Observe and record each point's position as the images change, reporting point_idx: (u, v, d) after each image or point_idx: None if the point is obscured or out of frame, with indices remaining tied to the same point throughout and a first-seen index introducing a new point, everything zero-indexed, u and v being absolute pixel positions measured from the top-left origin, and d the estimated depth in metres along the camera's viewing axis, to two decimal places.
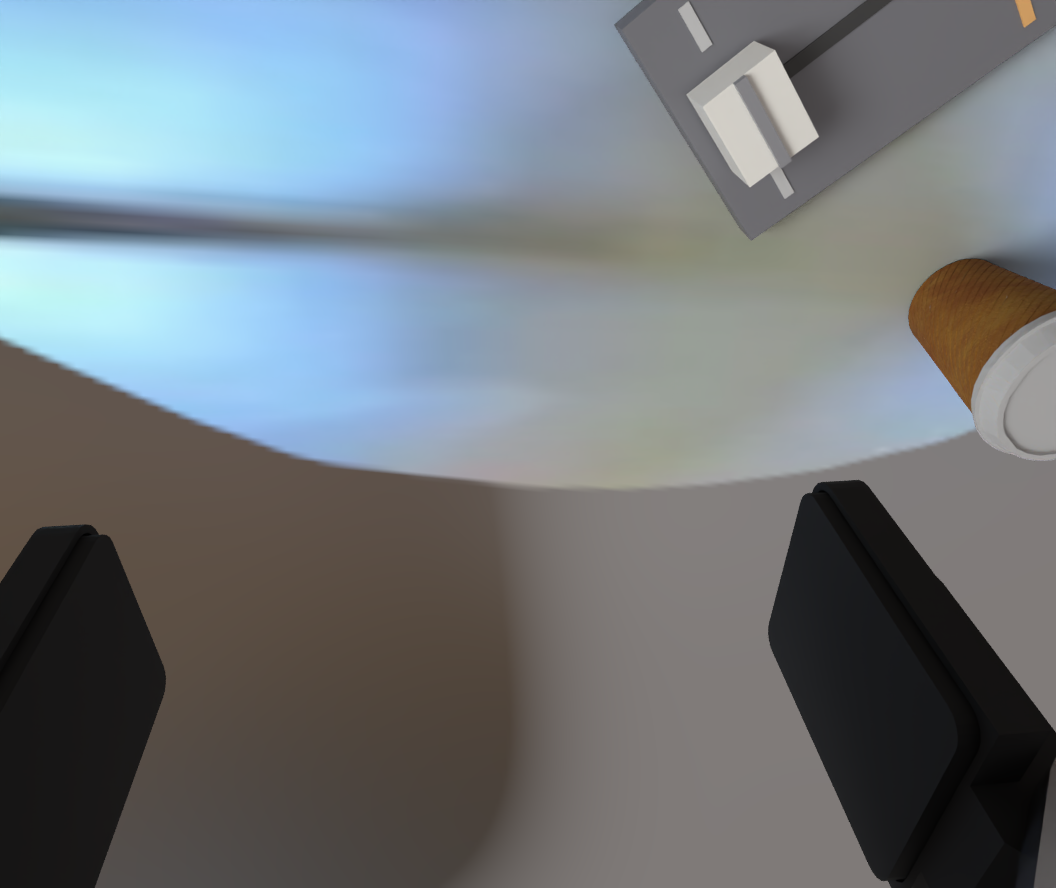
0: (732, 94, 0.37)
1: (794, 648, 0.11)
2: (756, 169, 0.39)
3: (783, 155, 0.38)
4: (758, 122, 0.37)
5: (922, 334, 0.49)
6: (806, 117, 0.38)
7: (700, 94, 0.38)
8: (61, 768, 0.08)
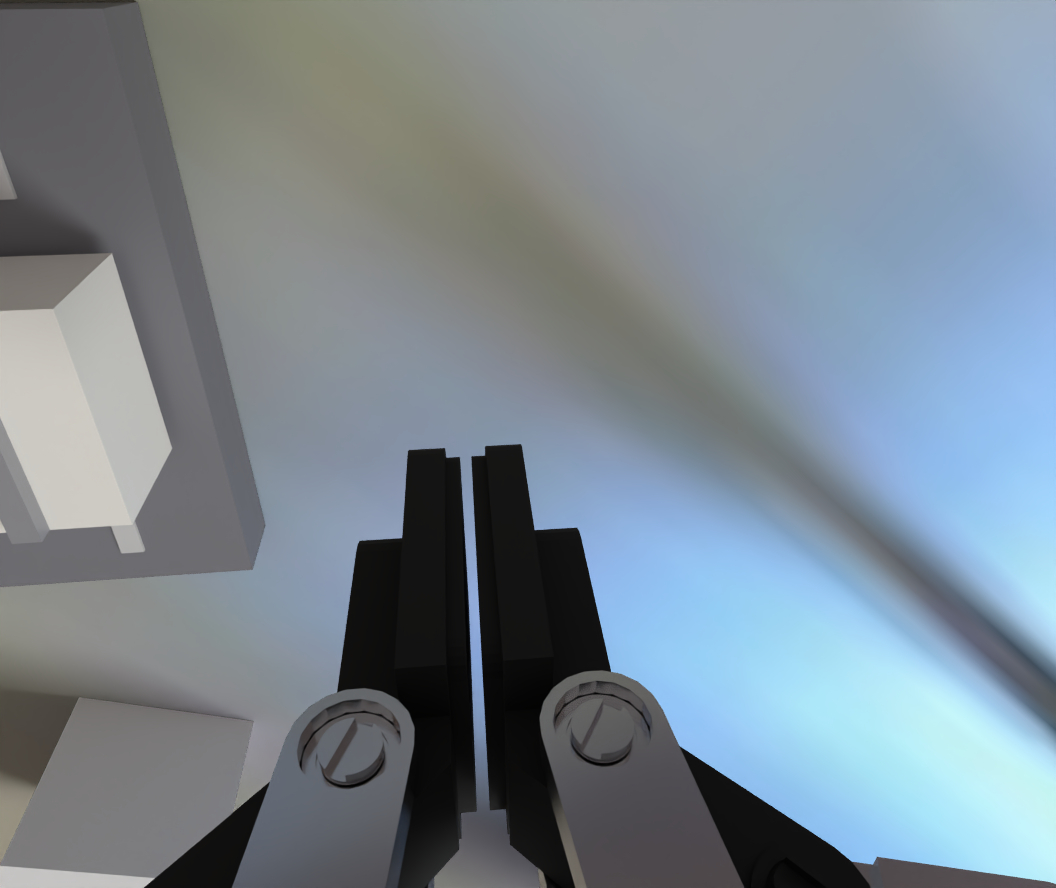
0: (55, 512, 0.16)
1: None
2: (24, 340, 0.14)
3: None
4: None
5: None
6: None
7: None
8: (468, 648, 0.09)
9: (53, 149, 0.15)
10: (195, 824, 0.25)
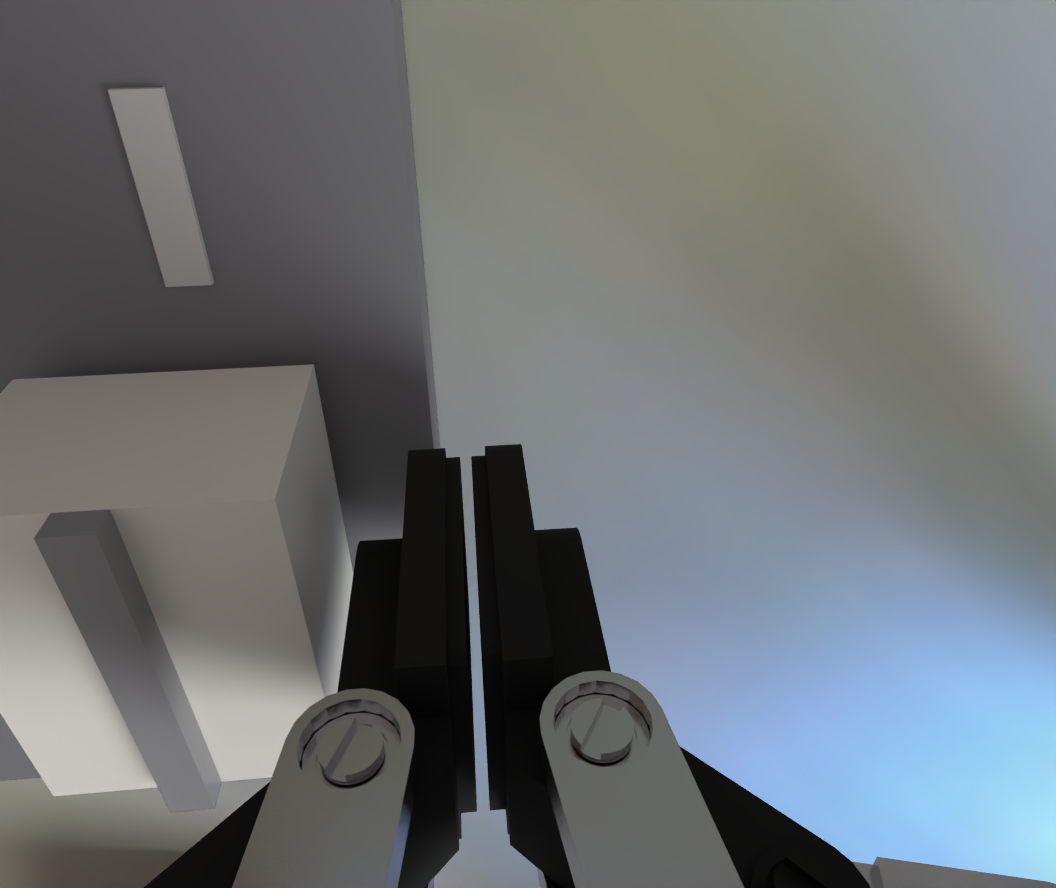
0: (232, 761, 0.11)
1: None
2: (220, 545, 0.08)
3: (77, 573, 0.08)
4: (162, 706, 0.09)
5: None
6: None
7: None
8: (468, 648, 0.09)
9: (278, 209, 0.10)
10: None
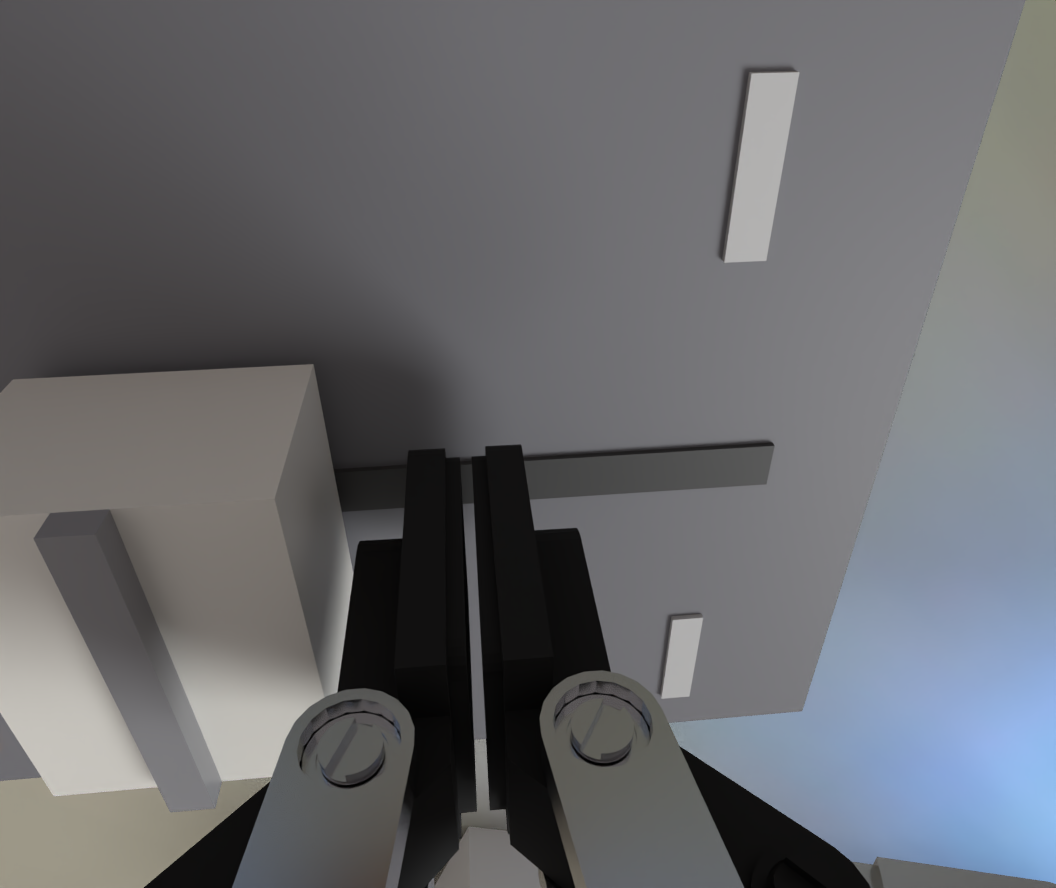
0: (232, 760, 0.11)
1: None
2: (219, 545, 0.08)
3: (76, 573, 0.08)
4: (162, 706, 0.09)
5: None
6: None
7: None
8: (468, 648, 0.09)
9: (848, 188, 0.10)
10: None
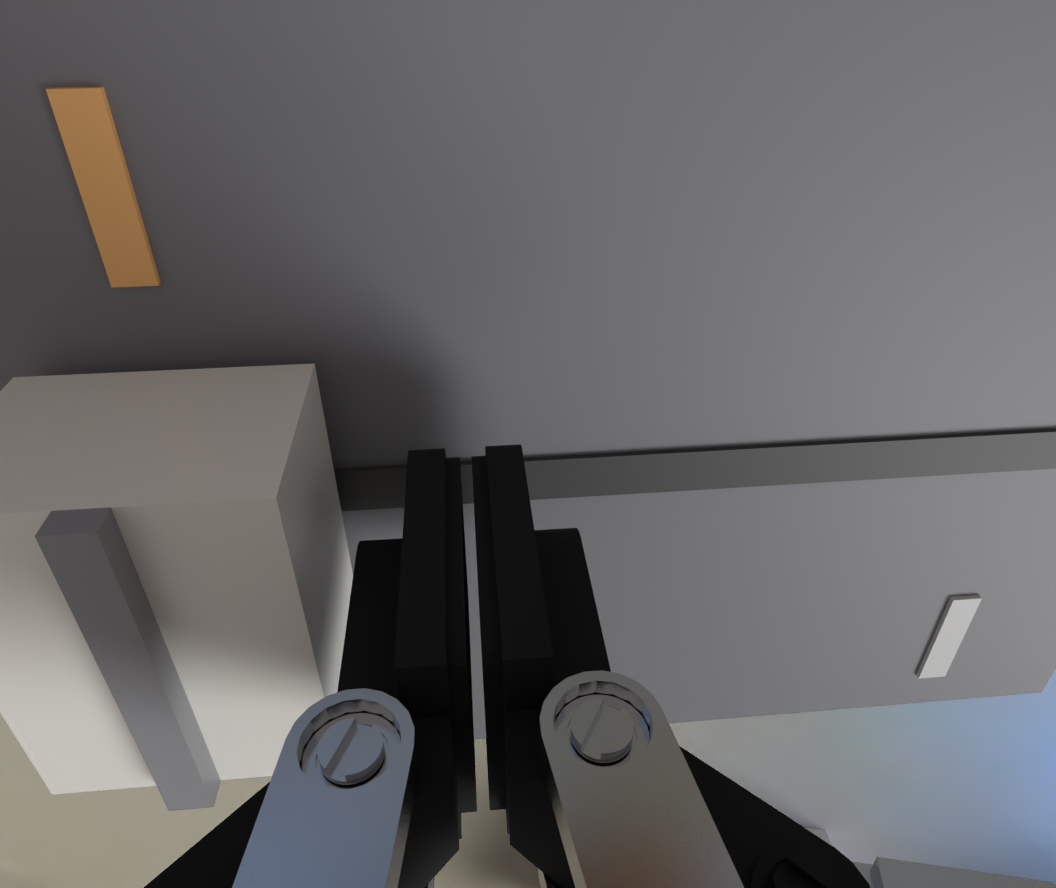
0: (231, 759, 0.11)
1: None
2: (220, 543, 0.08)
3: (77, 571, 0.08)
4: (162, 705, 0.09)
5: None
6: None
7: None
8: (468, 648, 0.09)
9: None
10: None
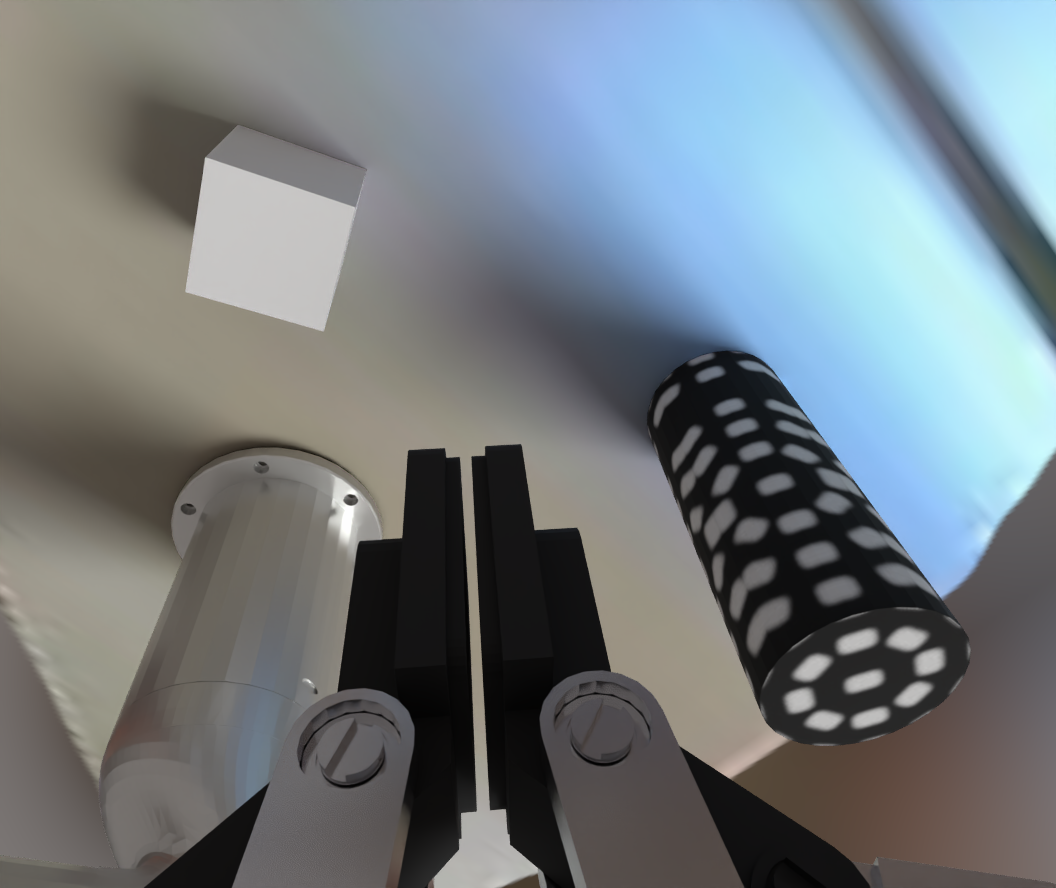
0: None
1: None
2: None
3: None
4: None
5: None
6: None
7: None
8: (468, 648, 0.09)
9: None
10: (335, 186, 0.33)
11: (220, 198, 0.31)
